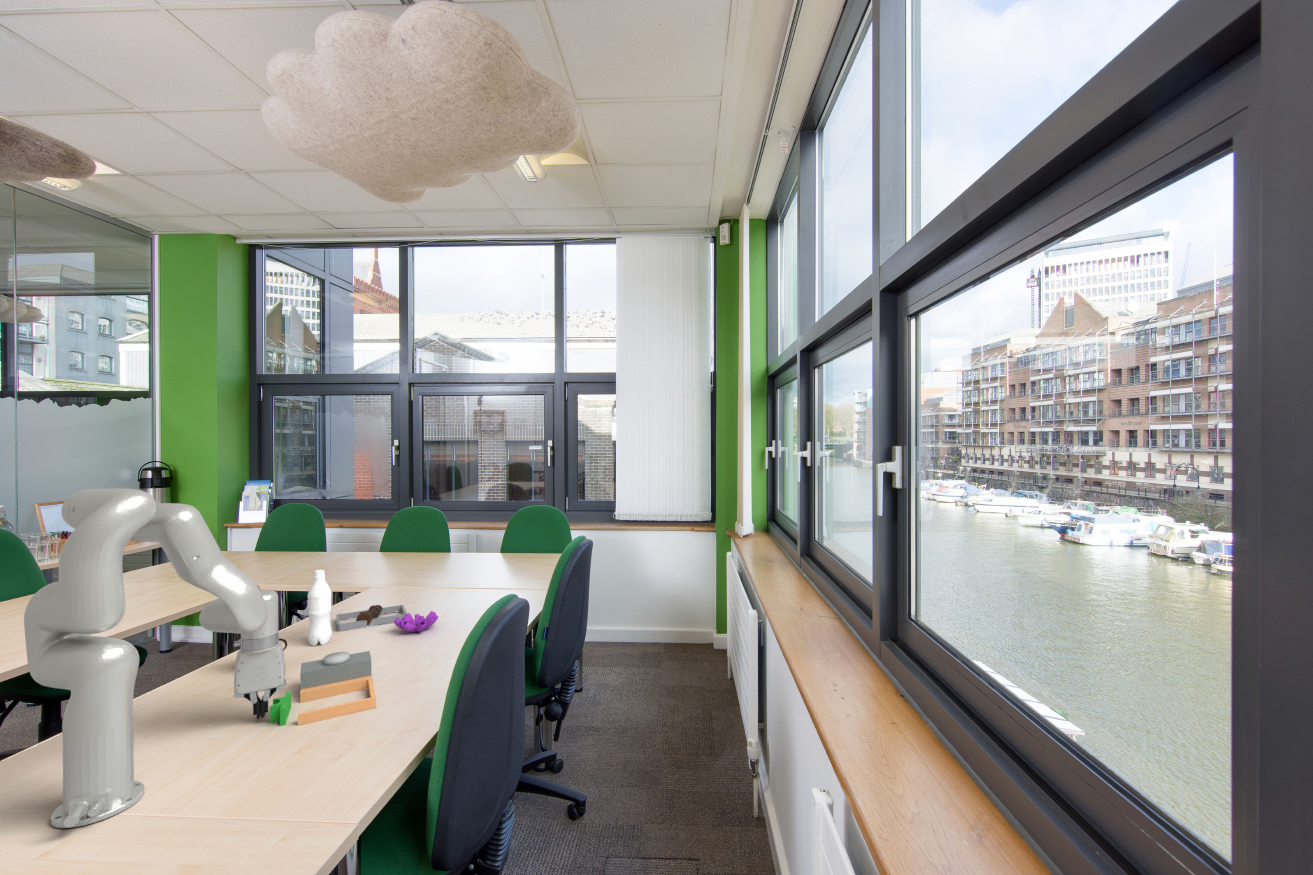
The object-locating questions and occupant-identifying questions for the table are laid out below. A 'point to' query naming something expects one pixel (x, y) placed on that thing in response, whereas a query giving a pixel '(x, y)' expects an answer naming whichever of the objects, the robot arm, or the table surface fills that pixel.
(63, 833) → the table surface
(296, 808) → the table surface
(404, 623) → the purple coral
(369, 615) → the brown lumpy elongated piece
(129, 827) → the table surface
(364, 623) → the parts tray
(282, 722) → the pipe clamp
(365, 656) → the orange and grey frame
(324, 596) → the water bottle
